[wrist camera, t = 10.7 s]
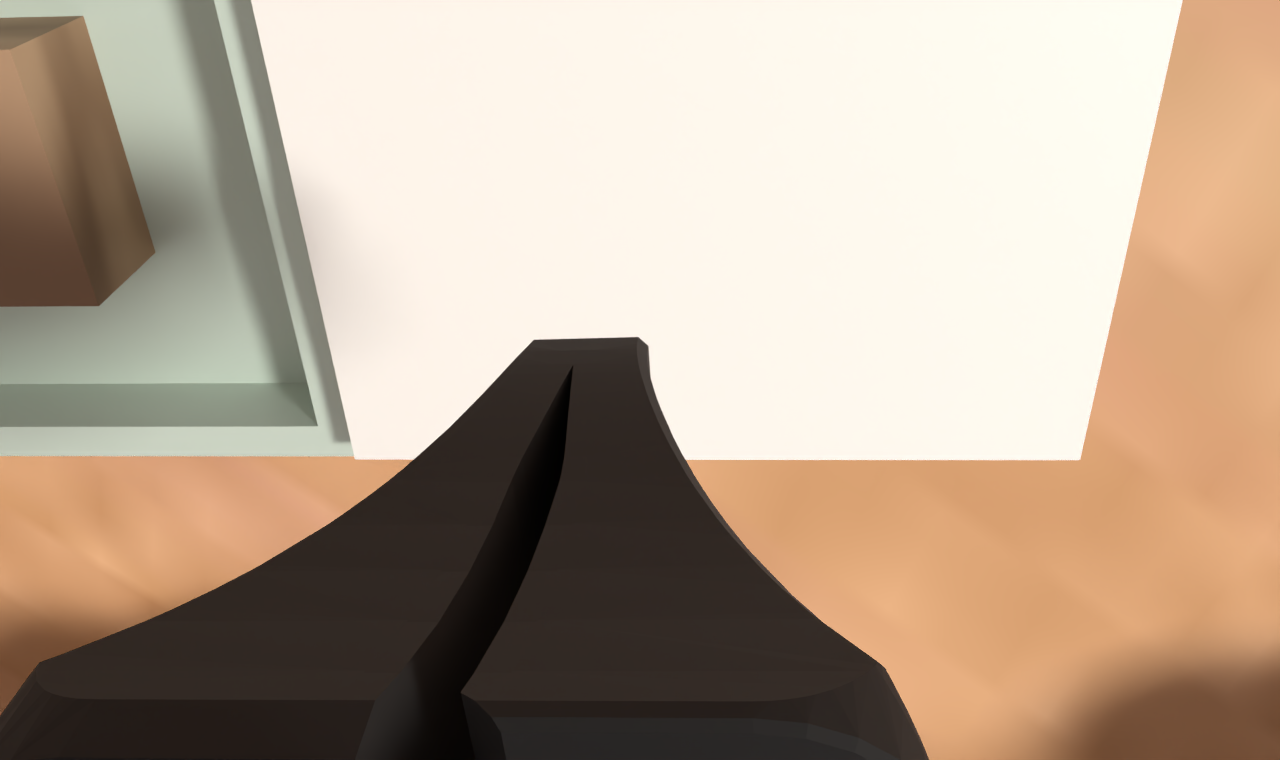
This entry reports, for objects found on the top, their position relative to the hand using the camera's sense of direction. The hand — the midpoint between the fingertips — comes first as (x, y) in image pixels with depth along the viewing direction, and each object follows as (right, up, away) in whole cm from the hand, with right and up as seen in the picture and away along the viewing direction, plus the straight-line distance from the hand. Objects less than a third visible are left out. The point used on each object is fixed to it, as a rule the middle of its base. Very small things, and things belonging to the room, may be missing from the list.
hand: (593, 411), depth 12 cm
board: (+2, +5, +9) cm, 10 cm away
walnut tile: (-13, +5, +8) cm, 16 cm away
